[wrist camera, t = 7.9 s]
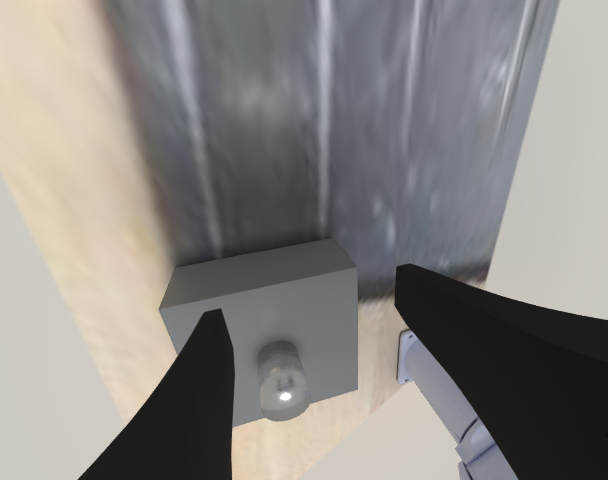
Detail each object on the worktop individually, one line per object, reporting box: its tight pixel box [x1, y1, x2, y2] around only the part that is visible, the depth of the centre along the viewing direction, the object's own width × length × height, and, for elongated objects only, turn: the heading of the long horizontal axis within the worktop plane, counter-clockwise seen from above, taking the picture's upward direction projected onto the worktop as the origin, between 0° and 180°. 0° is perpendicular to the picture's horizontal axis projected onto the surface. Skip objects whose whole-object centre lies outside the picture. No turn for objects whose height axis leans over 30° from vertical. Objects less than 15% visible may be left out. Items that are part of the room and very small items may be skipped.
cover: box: [159, 238, 358, 427], centre depth 19 cm, size 12×12×8 cm
